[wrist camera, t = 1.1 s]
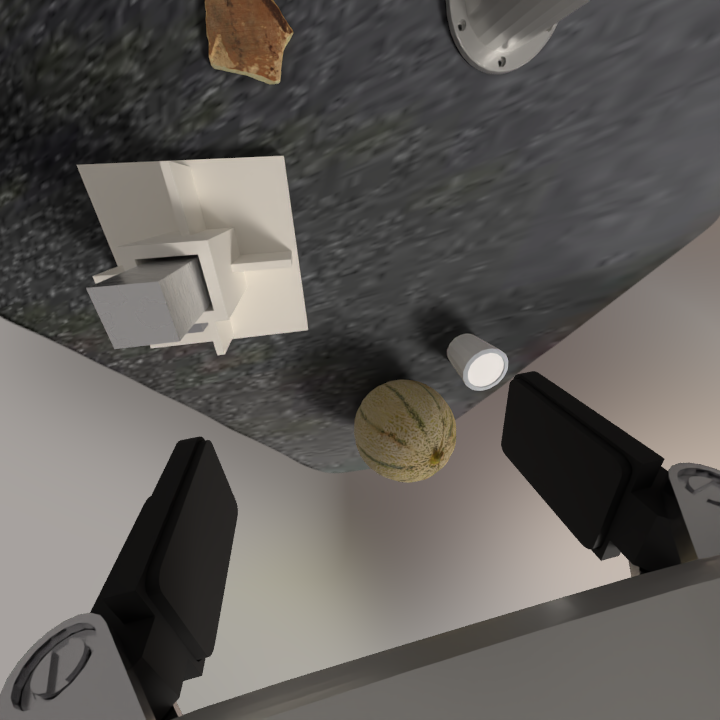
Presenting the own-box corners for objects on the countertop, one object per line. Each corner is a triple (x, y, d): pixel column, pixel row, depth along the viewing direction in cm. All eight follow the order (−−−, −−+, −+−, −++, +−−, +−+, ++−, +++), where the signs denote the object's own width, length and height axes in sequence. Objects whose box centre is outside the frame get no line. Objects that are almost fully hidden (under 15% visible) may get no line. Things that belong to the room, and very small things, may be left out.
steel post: (182, 245, 34) (84, 287, 18) (222, 242, 35) (159, 280, 19) (194, 283, 36) (114, 349, 20) (231, 279, 37) (180, 342, 21)
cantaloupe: (329, 407, 51) (340, 480, 38) (394, 344, 48) (430, 400, 35) (389, 448, 57) (415, 522, 44) (449, 395, 54) (498, 458, 41)
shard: (207, -97, 26) (201, -116, 25) (299, -61, 28) (299, -76, 26) (210, 69, 31) (205, 62, 29) (289, 91, 32) (289, 86, 31)
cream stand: (85, 166, 32) (-39, 148, 20) (284, 157, 35) (276, 136, 23) (155, 343, 41) (99, 401, 30) (307, 326, 44) (311, 373, 32)
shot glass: (435, 361, 50) (454, 384, 44) (457, 323, 48) (480, 342, 42) (468, 373, 53) (491, 396, 47) (491, 337, 50) (518, 357, 44)
